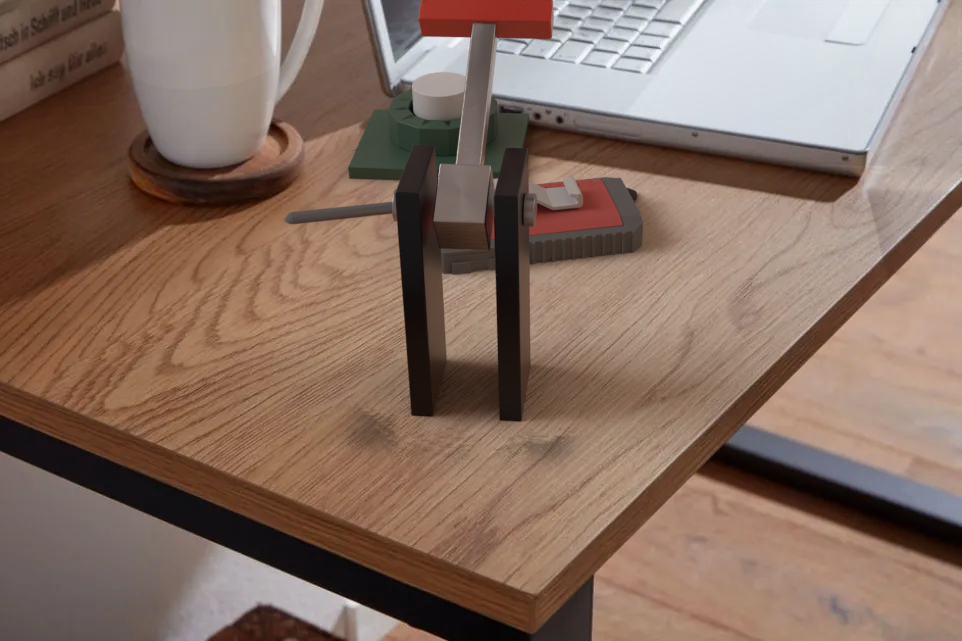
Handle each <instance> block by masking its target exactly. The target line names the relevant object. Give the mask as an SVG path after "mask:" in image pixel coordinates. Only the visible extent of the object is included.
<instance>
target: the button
mask: <svg viewBox="0 0 962 641" xmlns="http://www.w3.org/2000/svg"><path fill="white" fill-rule="evenodd" d="M465 80H466V75H465V74H462V73H457V72H452V71H439V72H431V73H426V74H423V75H421V76H418V77H417V78H416V79H415V80H413V82H412V84H411V89H412V95H413V111H414V114H415V116H417V117H420V118H423V119H427V120H452V119H457V118H461V114H462V105H463V97H464V89H465Z"/></svg>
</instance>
